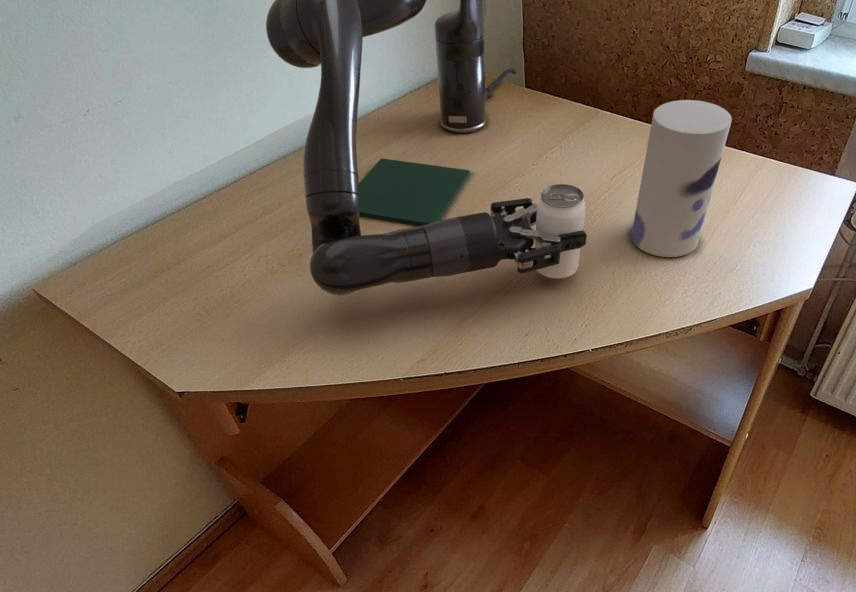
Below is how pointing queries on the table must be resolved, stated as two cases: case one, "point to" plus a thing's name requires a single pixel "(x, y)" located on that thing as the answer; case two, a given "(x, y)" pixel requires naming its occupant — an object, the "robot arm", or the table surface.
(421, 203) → the mat
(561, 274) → the can
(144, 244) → the table surface
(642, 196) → the container
